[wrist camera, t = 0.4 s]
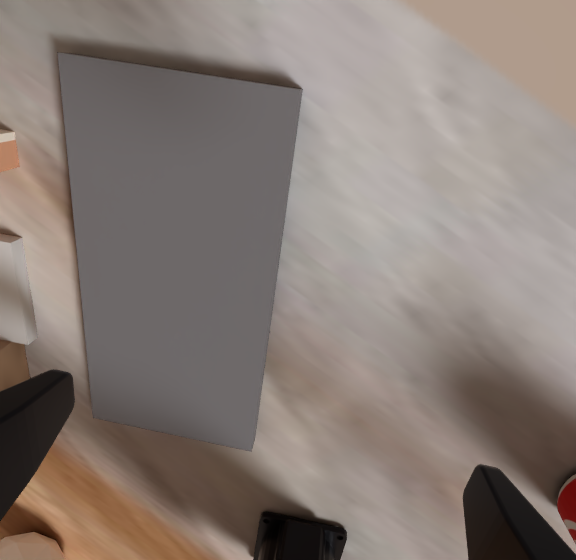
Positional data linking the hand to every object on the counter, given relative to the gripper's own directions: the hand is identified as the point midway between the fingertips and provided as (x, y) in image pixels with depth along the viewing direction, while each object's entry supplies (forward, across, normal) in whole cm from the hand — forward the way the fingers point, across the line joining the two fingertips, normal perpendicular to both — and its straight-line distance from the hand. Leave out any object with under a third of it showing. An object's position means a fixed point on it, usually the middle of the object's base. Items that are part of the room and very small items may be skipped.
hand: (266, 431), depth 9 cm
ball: (+15, +19, +34) cm, 41 cm away
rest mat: (+14, +7, +5) cm, 17 cm away
